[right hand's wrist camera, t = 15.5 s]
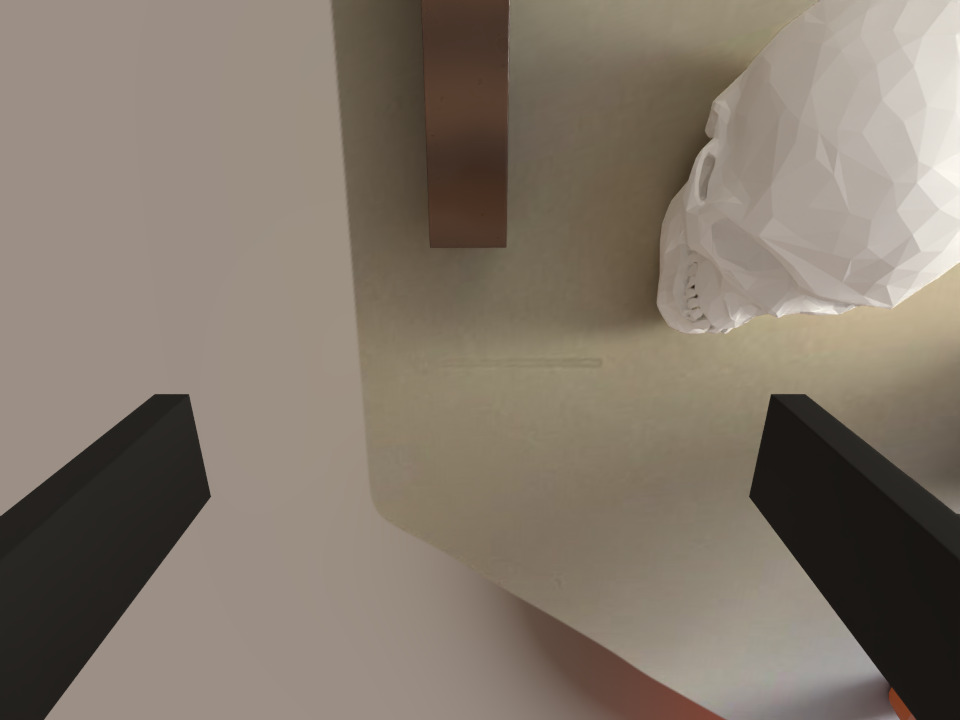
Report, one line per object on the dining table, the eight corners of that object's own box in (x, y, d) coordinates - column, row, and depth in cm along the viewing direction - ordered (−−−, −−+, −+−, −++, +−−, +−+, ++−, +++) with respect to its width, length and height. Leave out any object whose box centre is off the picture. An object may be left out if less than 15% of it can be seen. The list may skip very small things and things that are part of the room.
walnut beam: (426, -171, 31) (411, -252, 25) (506, -172, 31) (513, -253, 25) (438, 229, 39) (429, 247, 33) (502, 229, 39) (506, 247, 33)
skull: (594, 295, 41) (669, 388, 26) (758, -37, 33) (992, -168, 19) (748, 355, 43) (896, 472, 28) (934, 58, 35) (1266, 8, 21)
